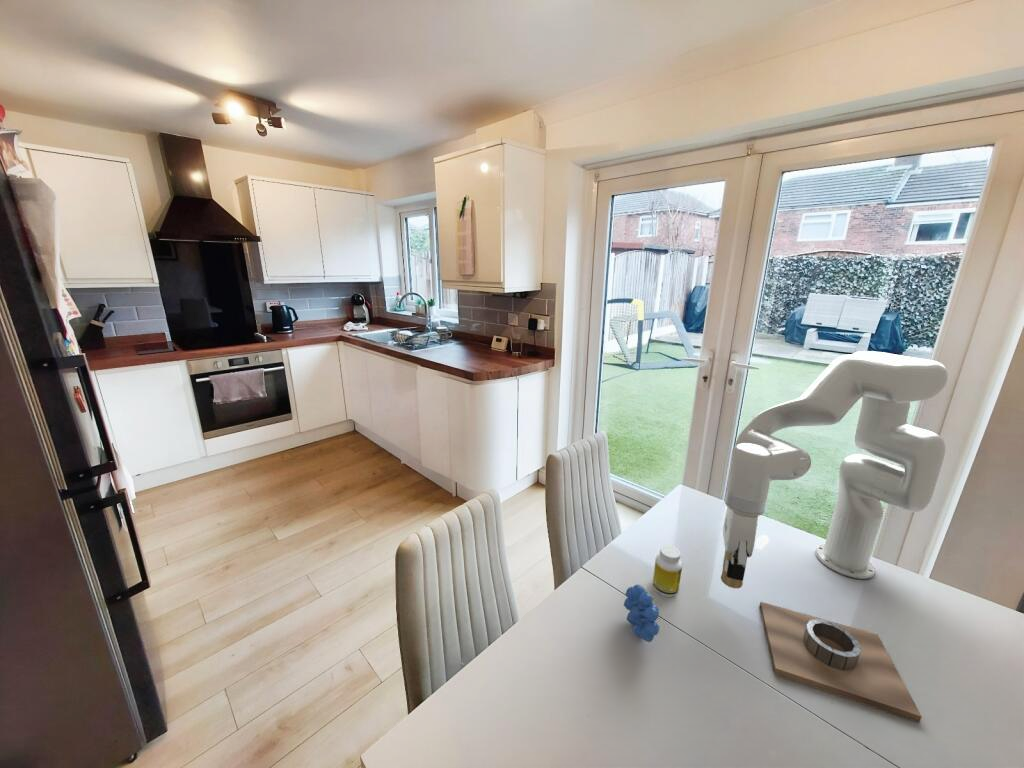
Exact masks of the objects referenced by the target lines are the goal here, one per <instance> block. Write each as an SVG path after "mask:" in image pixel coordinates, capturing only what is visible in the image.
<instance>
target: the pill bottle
mask: <svg viewBox="0 0 1024 768" xmlns="http://www.w3.org/2000/svg"><path fill="white" fill-rule="evenodd" d="M682 569H683V562H682V560H681V551H680V550H679V549H678V548H677V547H675V546H673V545H670V544H665V545H664V544H663V545H661V546H660V549H659V553H657V555H656V557H655V561H654V568H653V575H652V576H653V577H652V587H653V589H654V591H655V592H656V593H658V594H659V595H660V596H663V597H666V598H667V597H668V598H673V597H675V596H677V595H678V593H679V591H680V582H681V578H682V576H681V575H682V571H683V570H682Z"/></svg>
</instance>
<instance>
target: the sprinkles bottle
mask: <svg viewBox="0 0 1024 768" xmlns="http://www.w3.org/2000/svg"><path fill="white" fill-rule="evenodd" d="M737 550H738V549H737ZM735 558H738V555H736V554H735ZM735 558H734V559H735ZM747 560H748V556H747V557H746V563H747ZM729 561H731V553H728V552H727V551H726V550H724V556H723V563H722V569H721V570H722V571H721V572H722V573H721V576H720V580H721V582H722V583H723V584H724V585H725V586H727V587H729V588H731V589H741V588H742V587H743V585H744V583H743V581H744V580H743V581H740V580H736V579H732V578H729V577H727V569H728V563H729ZM745 569H747V567H745Z"/></svg>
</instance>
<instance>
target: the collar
mask: <svg viewBox="0 0 1024 768" xmlns="http://www.w3.org/2000/svg"><path fill="white" fill-rule="evenodd" d="M822 619H823V618H821V619H815V620H810V621H809V622H808V624H807V625H806V629H805V632H804V636H803V641H804V644H805V647H806V648H807V649H808V651H809V652H810V653H811V654H812V655H813V656H814V657H816V659H818V660H819V661H821V662H823V663H824V664H826V665H827V666H830V667H832V668H835V669H838V670H842V671H848V670H853V669H854V668H855V666H856V664H857V662H858V659H859V656H860V652H861V647H860V645H859V643H858V641H857V640H856V639H855V638H854V637H853V636H852V635H851V634H850V633H849V632H848V631H846V630H845V629H843V628H842V627H840V626H838V625H836V624H834V623H832V622H833V621H832V622H829V621H830V620H828V621H825V620H826V619H825V620H822ZM816 636H821V637H824V638H827V639H830V640H832V641H833V642H835V643H837V644H839V645H840V646H841V647H842V648H843V649H844V650H845V651H846V652H841V651H838V650H835V649H832V648H831V647H829V646H827V645H826V644H824V643H822V642H821V641H820V640H819V639H818V638H817V637H816Z"/></svg>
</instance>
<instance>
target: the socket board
mask: <svg viewBox="0 0 1024 768" xmlns="http://www.w3.org/2000/svg"><path fill="white" fill-rule="evenodd" d="M758 607H759V612H760V616H761V620H762V624H763V628H764V634H765V637H766V638H765V639H766V643H767V647H768V648H767V649H768V652H769V656H770V657H769V658H770V662H771V666H772V670H773V675H776V676H779V677H782V678H785V679H789V680H791V681H793V682H797V683H800V684H803V685H805V686H810V687H812V688H814V689H818V690H821V691H823V692H826V693H829V694H833V695H836V696H839V697H842V698H845V699H848V700H851V701H854V702H856V703H860V704H863V705H865V706H869V707H872V708H873V709H877V710H880V711H884V712H886V713H890V714H892V715H895V716H898V717H902V718H905V719H907V720H911V721H914V722H917V723H920V722H921V719H922V714H921V713H920V711H919V709H918V707H917V705H916V703H915V701H914V699H913V697H912V696H911V694H910V692H909V690H908V688H907V686H906V684H905V683H904V681H903V678H902V677H901V674H900V673H899V670H897V669H898V668H897V667H896V666H895V664H894V662H893V660H892V658H891V656H890V654H889V652H888V651H887V648H886V647H885V645H884V644H883V642H882V639H881V637H880V636H879V634H878V633H874V632H871V631H867V630H863V629H860V628H857V627H852V626H849V625H845V624H842V623H839V622H836V621H831V620H828V619H825V618H821V617H817V616H813V615H810V614H808V613H807V614H806V613H802V612H800V611H795V610H791V609H788V608H784V607H781V606H777V605H774V604H770V603H766V602H763V601H760V602H759V606H758ZM815 619H822V620H825V621H829V622H832V623H834V624H836V625H838V626H840V627H842V628H843V629H845V630H846V631H848V632H849V633H850V634H851V635H852V636H853V637H854V638H855V639H856V640H857V641H858V643H859V645H860V647H861V652H860V656H859V659H858V662H857V664H856V666H855V668H854V669H853V670H848V671H842V670H838V669H835V668H832V667H830V666H827V665H826V664H824V663H823V662H821V661H819V660H818V659H816V657H814V656H813V655H812V654H811V653H810V652H809V651H808V649H807V648H806V647H805V644H804V641H803V636H804V632H805V629H806V625H807V624H808V622H809V621H810V620H815ZM816 637H817V638H818V639H819V640H820V641H821V642H822V643H824V644H826V645H827V646H829V647H831V648H832V649H835V650H838V651H841V652H846V651H845V650H844V649H843V648H842V647H841V646H840V645H839V644H837V643H835V642H833V641H832V640H830V639H827V638H824V637H821V636H816Z"/></svg>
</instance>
